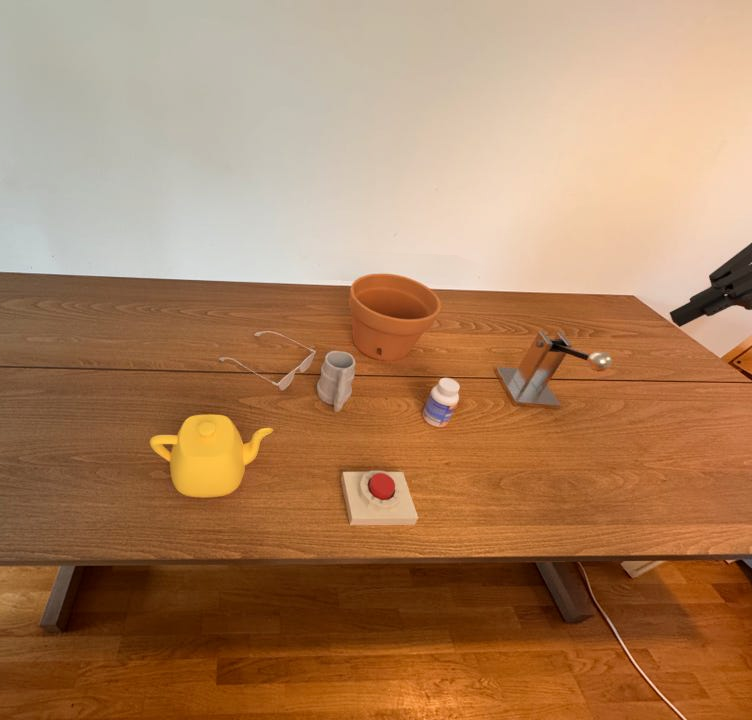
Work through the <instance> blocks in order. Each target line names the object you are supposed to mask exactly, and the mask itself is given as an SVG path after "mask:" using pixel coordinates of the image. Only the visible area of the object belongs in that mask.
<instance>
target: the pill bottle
mask: <svg viewBox="0 0 752 720" xmlns="http://www.w3.org/2000/svg"><path fill="white" fill-rule="evenodd" d="M460 387H461V386H460V383H459V382H458V381H457V380H455V379H453V378H450V377H443V378H440V379H439V381H438V383H437V385H435V386H433V387H432V388H431V391H430V394H429V396H428V399H427V401H426V404H425V406H424V409H423V410H422V418H423V419H424V421H425V422H426V423H427V424H429V425H430V426H433V427H436V428H442V427H445V426H447V425H448V423H449V422H450V421H451V418H452V416H453V413H454V412H455V408H456V407H457V405H458V403H459V400H460V395H459V391H460V390H461V388H460Z"/></svg>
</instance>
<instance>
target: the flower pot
mask: <svg viewBox="0 0 752 720" xmlns="http://www.w3.org/2000/svg"><path fill="white" fill-rule="evenodd" d="M349 289H350V290H349V298H348V308H349V311H350V312H351V327H352V341H353V345H354V346H355V347H356V349H358V351H360V352H361V353H362V354H364V355H365V356H368V357H369V358H372V359H373V360H374V359H375V360H379V361H385V362H390V361H391V362H392V361H398V360H401V359H403V358H405V357H406V356H407V355H408V354H409V353H410V352H411V350H412V349H413V347H414V346H415V345H416V344H417V343H418V341H419V339H420V338H421V337H422V335H423V334H424V333H425V332H426V331H428V330H429V329H431V327H432V326H433V325H434V323H435V321H436V319H437V317H438V316H439V314H440V311H441V309H442V303H441V300H440V297H439V296H438V295H437V294H436V292H435V291H434V290H432V289H431V288H430V287H428V286H427V285H425V284H423V283H422V282H419V281H417V280H415V279H412V278H409V277H407V276H403V275H400V274H393V273H371V274H366V275H363V276H361V277H358V278H357V279H355V280H354V281H353V282H352V284H351V286H350V288H349Z"/></svg>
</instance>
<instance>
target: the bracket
mask: <svg viewBox="0 0 752 720" xmlns="http://www.w3.org/2000/svg"><path fill="white" fill-rule="evenodd" d="M553 339H556V340H559V341H562V343H561V345H562V346H565V347H568V348H571V349H572V347H573V344H572V343H571V342H570V341H569V340H568V338H567V337H566V336H565V334H563V332H557V333H556V335H555V336H554V338H553ZM552 345H553V343H552V342H551V341H550V339H549V337H548V335H547V334H546V333H545V332H544V331H540V330H539V331H538V332H537V334H536V336H535V338H534V340H533V342H531V345H530V346H529V348H528V350H527V352H526V354H525V355H524V357H523V359H522V360H521V363H520V364H519V366H518V367H505V366H504V367H503V366H495V368H494V373H495V375H496V377H497V378H498V380H499V382H500V384H501V386H502V388H503V390H504V391H505V393H506V395H507V396H508V398H509V401H510V402H511V404H512V406H513V407H525V408H536V409H548V410H549V409H551V410H559V409H560V407H562V404H561V403H560V402H559V400H558V399H557V397H556V395H555V394H554V392H553V391H552V390H551V388H550V387H549V385H548V384H549V382H550V381H551V379H552V378H553V376H554V375H555V373H556V371H557V370H558V368H559V367H560V366H561V364H562V362H563V361H564V360H565V358H566V356H567V355H568V354H567V353H564V352H561V351H559V352H550V351H549V350H550V348H551V346H552Z"/></svg>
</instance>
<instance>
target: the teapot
mask: <svg viewBox="0 0 752 720" xmlns="http://www.w3.org/2000/svg"><path fill="white" fill-rule="evenodd" d="M273 432H274V429H273V428H271V427H264V428H260V429H258V430H256V431H255V432H254V433H253V434H252V437H251V440H250V441H249V442H245V443H243V438H242V436H241V434H240V431H239V429H237V427H236V424H235V423H233V421H232V420H231V419H230V418H229V417H228V416H226V415H223V414H195V415H191V416H188V417H187V418H186V419H185V420H184V421H183V422H182V425H180V428H179V430H178V432H177V434H158V435H153V436H152V437H151V438H150V440H149V445H150V447H151V449H152V450H153V451H154V452H155V453H156V454H157V455H158V456H160V457H162V458H163V459H164V460H166V461H167V462H169V471H170V478H171V481H172V484H173V486H174V488H175V490H176V491H178V492H179V493H180V494H182V495H183V496H187V497H192V498H203V499H204V498H205V499H207V498H218V497H219V498H220V497H223V496H227V495H230V494H232V493H233V492H235V491H236V490H237V489H238V488H239V486H240V485H241V483H242V481H243V478H244V475H245V471H246V466H247V465H249V464H251V463H252V462H254V460H255V459H256V458H257V456H258V454H259V450H260V446H261V442H262V440H263V438H265V437H266V436H268V435H270V434H271V433H273ZM164 445H172V447H171V450H168V449H167V448H166V447H165V446H164Z"/></svg>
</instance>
